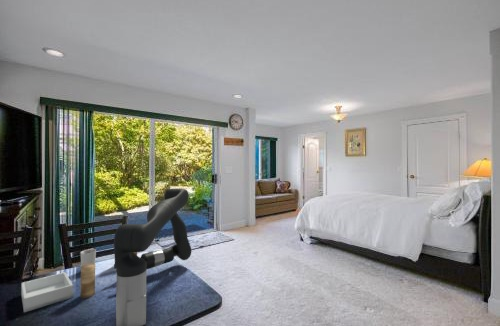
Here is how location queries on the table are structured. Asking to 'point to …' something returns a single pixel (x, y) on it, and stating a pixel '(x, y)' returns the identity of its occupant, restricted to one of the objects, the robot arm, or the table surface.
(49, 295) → the tote
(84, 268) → the wooden cylinder
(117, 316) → the robot arm
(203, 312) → the table surface
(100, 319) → the table surface
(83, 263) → the drinking glass
